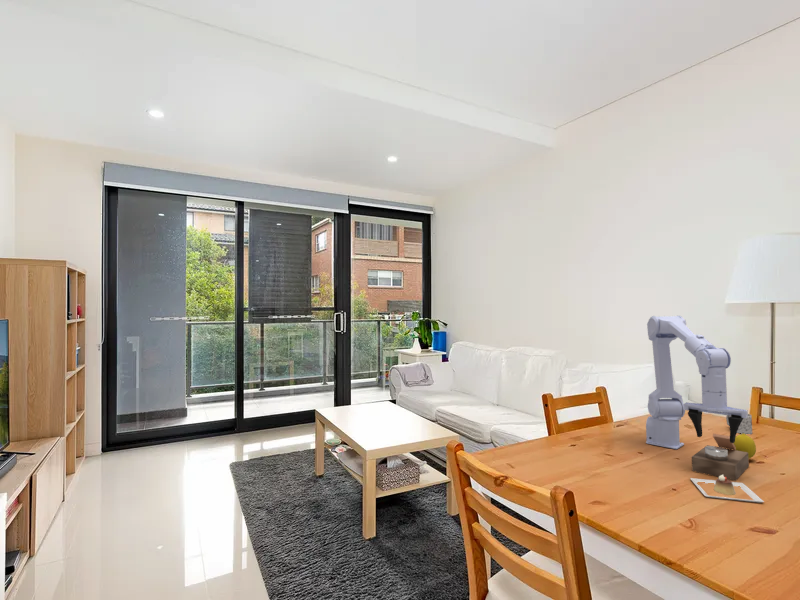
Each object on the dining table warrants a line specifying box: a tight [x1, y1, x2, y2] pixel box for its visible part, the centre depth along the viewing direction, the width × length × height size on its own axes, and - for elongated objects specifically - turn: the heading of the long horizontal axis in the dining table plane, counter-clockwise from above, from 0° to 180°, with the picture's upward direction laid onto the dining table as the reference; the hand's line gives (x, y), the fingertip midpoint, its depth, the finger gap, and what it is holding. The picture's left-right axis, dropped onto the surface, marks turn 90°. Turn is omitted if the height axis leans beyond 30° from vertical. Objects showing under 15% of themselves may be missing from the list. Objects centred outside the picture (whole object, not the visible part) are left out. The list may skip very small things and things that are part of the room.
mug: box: [725, 413, 753, 435], centre depth 163 cm, size 10×7×7 cm
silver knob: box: [704, 445, 728, 461], centre depth 122 cm, size 5×5×6 cm
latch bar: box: [712, 433, 736, 450], centre depth 128 cm, size 8×4×1 cm
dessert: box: [689, 475, 765, 504], centre depth 109 cm, size 12×12×5 cm
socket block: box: [691, 444, 750, 482], centre depth 125 cm, size 10×16×4 cm, turn 131°
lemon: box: [734, 434, 757, 459], centre depth 132 cm, size 6×6×8 cm
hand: (715, 439), depth 122 cm, fingers open, 7 cm apart
